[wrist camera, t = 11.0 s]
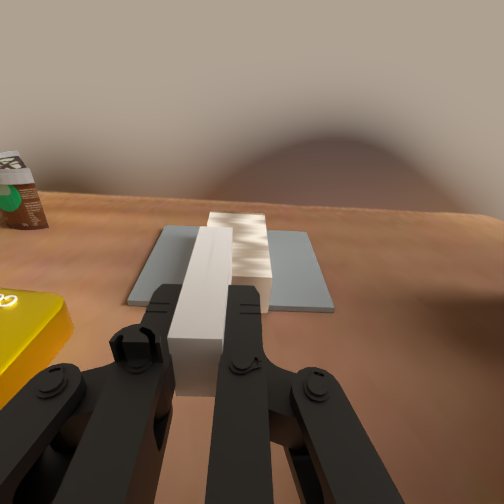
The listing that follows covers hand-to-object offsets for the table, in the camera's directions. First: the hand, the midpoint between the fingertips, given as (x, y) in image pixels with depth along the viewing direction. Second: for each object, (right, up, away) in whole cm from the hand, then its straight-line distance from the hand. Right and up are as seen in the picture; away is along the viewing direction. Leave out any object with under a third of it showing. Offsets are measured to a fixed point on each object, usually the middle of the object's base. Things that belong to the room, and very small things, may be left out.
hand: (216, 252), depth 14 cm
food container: (-37, +5, +35) cm, 51 cm away
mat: (-1, -2, +28) cm, 28 cm away
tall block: (0, -5, +17) cm, 18 cm away
